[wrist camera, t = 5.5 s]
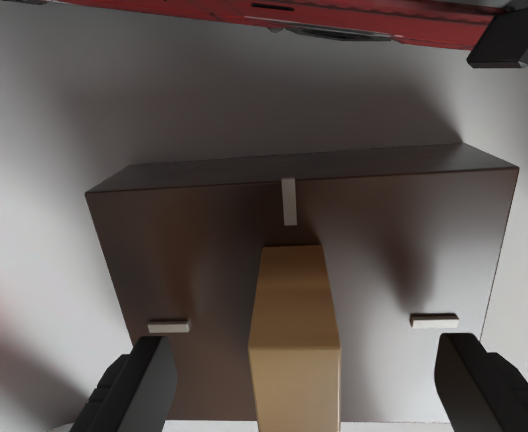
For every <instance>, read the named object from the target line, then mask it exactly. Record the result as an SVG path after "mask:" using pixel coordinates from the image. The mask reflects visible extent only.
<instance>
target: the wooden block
mask: <svg viewBox="0 0 528 432" xmlns="http://www.w3.org/2000/svg"><path fill="white" fill-rule="evenodd" d="M247 349H248V356H249V364H250V371H251V379H252V386H253V393H254V401H255V408H256V416H257V423H258V430H259V432H340V421H341V352H342V347H341V342H340V337H339V331H338V326H337V320H336V315H335V309H334V304H333V299H332V293H331V288H330V282H329V277H328V272H327V266H326V261H325V255H324V250H323V246H322V245H309V246H283V247H264V248H263V249H262V254H261V261H260V267H259V274H258V281H257V288H256V294H255V301H254V308H253V314H252V321H251V328H250V335H249V341H248V348H247Z"/></svg>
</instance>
